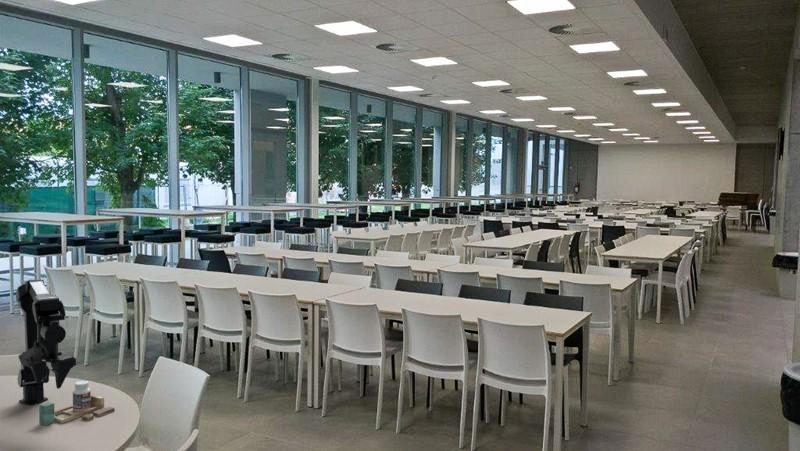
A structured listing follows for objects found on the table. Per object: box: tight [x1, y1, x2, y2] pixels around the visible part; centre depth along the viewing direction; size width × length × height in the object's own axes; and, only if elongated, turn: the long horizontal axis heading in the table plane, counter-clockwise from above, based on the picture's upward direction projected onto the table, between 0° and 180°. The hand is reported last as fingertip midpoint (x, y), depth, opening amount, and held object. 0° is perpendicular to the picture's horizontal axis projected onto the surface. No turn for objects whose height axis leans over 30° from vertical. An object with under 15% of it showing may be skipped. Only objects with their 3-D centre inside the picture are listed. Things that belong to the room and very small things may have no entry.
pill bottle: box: [72, 380, 92, 411], centre depth 210 cm, size 5×5×9 cm
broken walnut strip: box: [81, 406, 115, 422], centre depth 206 cm, size 3×10×1 cm, turn 154°
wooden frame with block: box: [38, 394, 105, 426], centre depth 206 cm, size 9×19×6 cm, turn 154°
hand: (48, 385), depth 198 cm, fingers open, 9 cm apart
